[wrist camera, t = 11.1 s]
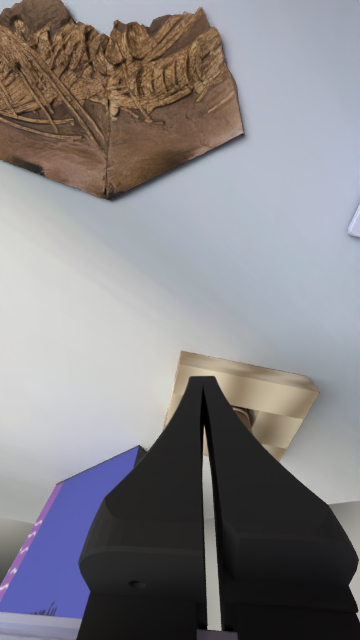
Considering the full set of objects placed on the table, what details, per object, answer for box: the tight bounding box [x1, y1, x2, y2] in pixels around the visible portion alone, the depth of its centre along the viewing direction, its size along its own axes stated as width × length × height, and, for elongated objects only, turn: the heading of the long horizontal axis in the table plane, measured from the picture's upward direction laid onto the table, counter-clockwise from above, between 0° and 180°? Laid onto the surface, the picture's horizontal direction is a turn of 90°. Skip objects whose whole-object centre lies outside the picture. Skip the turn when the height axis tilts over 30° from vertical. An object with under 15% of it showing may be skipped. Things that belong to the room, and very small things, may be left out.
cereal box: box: [0, 445, 147, 619], centre depth 20 cm, size 17×5×24 cm, turn 126°
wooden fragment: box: [0, 0, 244, 200], centre depth 15 cm, size 26×11×1 cm, turn 85°
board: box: [163, 351, 319, 462], centre depth 23 cm, size 14×12×2 cm
